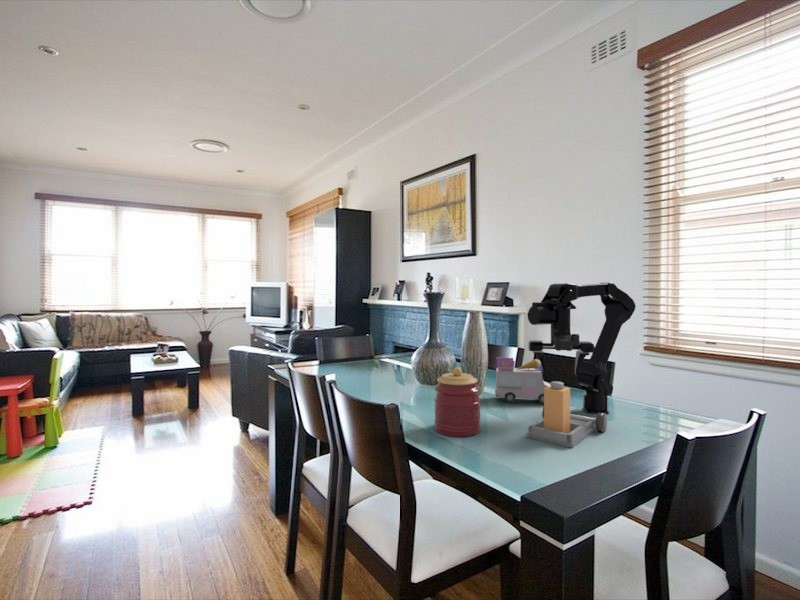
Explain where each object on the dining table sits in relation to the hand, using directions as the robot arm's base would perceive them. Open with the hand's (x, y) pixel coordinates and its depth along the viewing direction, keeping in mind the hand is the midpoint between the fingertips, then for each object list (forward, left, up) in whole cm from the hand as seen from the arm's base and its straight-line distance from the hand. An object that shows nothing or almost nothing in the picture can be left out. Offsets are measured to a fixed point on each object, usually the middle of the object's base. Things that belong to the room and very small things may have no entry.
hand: (560, 374), depth 133 cm
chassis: (+1, +16, -13) cm, 20 cm away
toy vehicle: (+10, -16, -13) cm, 23 cm away
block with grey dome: (+3, +20, -12) cm, 24 cm away
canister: (+30, +20, -13) cm, 38 cm away
